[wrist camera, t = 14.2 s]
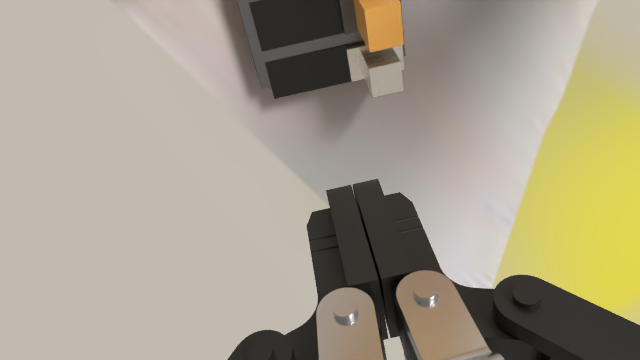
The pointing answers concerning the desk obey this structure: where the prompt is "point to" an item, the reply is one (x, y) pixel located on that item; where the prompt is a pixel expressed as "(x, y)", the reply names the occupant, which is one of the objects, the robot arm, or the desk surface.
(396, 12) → the orange rectangular block
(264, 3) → the panel
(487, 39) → the desk surface
